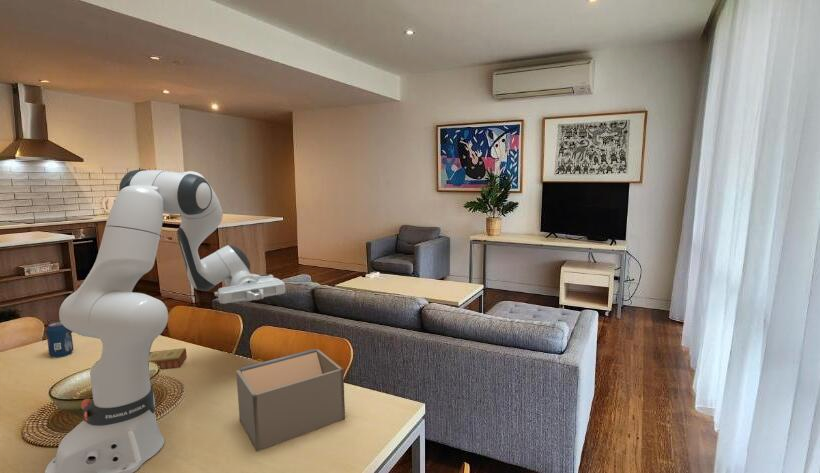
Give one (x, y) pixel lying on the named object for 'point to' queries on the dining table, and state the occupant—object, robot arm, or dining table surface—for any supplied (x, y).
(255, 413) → the open carton
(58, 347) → the blue can
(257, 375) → the flap
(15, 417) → the dining table surface
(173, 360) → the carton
